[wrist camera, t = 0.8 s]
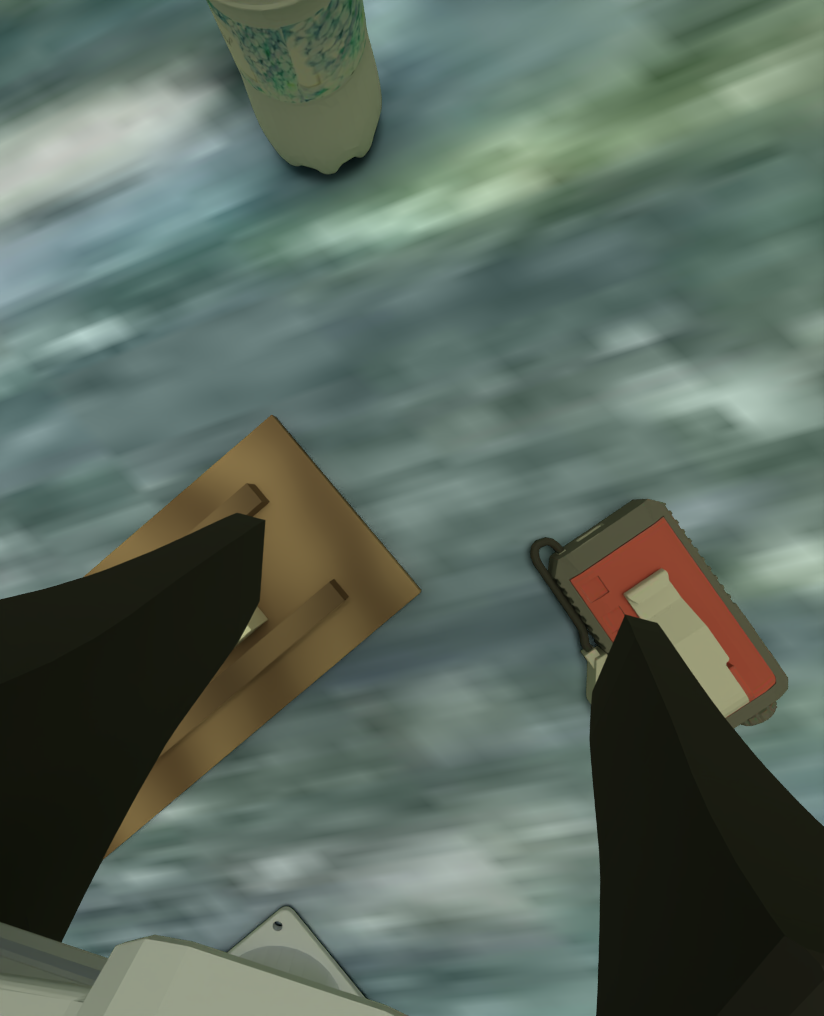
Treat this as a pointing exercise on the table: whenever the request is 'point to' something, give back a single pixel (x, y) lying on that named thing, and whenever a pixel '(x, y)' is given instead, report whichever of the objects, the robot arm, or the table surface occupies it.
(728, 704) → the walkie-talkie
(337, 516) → the cradle
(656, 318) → the table surface
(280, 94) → the bottle
